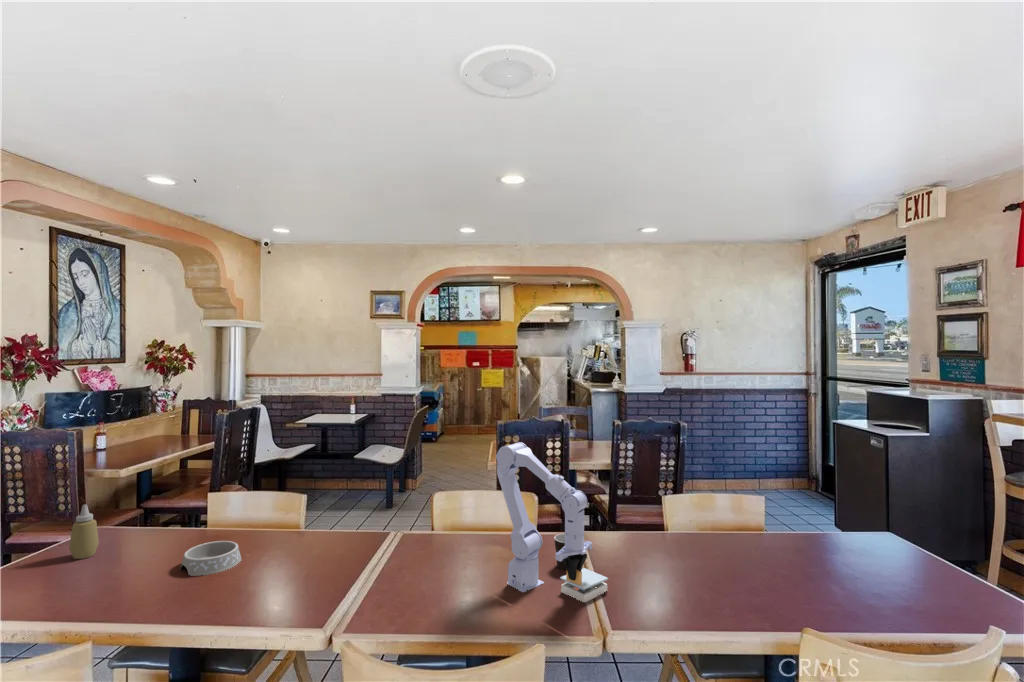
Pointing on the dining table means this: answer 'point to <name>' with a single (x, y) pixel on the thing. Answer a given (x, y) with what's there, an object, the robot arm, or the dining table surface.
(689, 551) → the dining table surface
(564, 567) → the coffee mug
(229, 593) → the dining table surface
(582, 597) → the tub
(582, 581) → the lid
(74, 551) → the squeeze bottle
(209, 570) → the dog bowl
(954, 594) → the dining table surface
